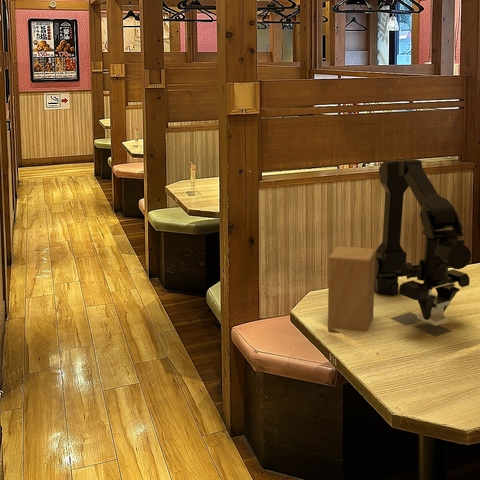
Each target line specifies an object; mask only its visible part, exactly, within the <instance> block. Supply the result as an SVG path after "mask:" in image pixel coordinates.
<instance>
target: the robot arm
mask: <svg viewBox="0 0 480 480" xmlns="http://www.w3.org/2000/svg"><path fill="white" fill-rule="evenodd" d="M378 175H379V182H380V185H381V186H382V188H383V189H384V192H385V195H384V206H383V207H384V209H383V225H382V242H381V243H380V244H379V246H378V247H377V248H376V249H375V279H374V292H375V293H376V294H379V295H382V296H383V295H384V296H390V297H394V296H398V295H400V296H403V297H406V298H409V299H411V300H413V301H417V302H418V305H419V307H420V311H421V313H422V314H423V318H424V319H425V320H428V319H429V316H430V313H431V310H432V307H433V304H434V300H435V296H432V295H431V294H432V291H433V289H435V290H436V293H437V294H436V295H437V296H439V297H442V298H445V299H447V300H450V303H451V302H452V301H453V299H454V298H455V296H456V294H457V293H459V292H460V288H465V287H469V286H470V279H471V278H470V277H469V275H468V273H467V272H462V271H459V270H462V269H464V268H466V267H467V266H468V264H469V263H470V262H471V259H472V253H471V250H470V248H469V247H468V246H467V245H465V240H464V239H463V238H460V237H463V236H464V233H463V229H464V228H463V225H462V223H461V221H460V218H459V216H458V212H457V210H456V208H455V207H454V205H453V204H452V203H451V202H450V201H449V200H448V199H446V198H444V197H443V196H440V194H438V192H437V189H435V186H434V185H433V184H432V182H431V180H430V179H429V177H428V175H427V174H426V171H425V170H424V169H423V163H422V161H421V160H420V159H417V158H416V159H393V160H392V159H391V160H384V161H382V163H381V164H380V166H379V168H378ZM408 188H409V189H410V191H411V192H412V193H413V196H414V198H415V199H416V202H417V203H418V205H419V207H420V211H419V214H418V215H419V218H420V222H421V225H422V227H423V228H424V229H423V230H422V232H421V233H422V234H423V235H424V237H425V238H424V239H425V242H424V243H425V244H424V255H423V257H424V258H422V259H421V258H420V260H419V262H418V263H413V264H412V262H410V261H409V262H407V255H408V254H407V253H406V251H404V248H403V247H402V245H401V239H402V238H401V236H402V224H403V223H402V221H403V212H404V211H403V209H404V207H403V206H404V197H405V196H404V195H405V193H406V192H407V189H408ZM449 267H451V268H452V269H450V270H449ZM403 277H406V280H409V279H412V278H416V280H417V281H415V280H413V279H412V280H409V281H406V282H405V281H404V282H402V283H401V284H399V278H403ZM418 281H420V282H418ZM422 281H423V282H422ZM421 282H422V283H421ZM455 283H458V286H459V287H460V288H458V287H456V284H455ZM448 307H449V305H447V306H444V312H445V311H446V310H447V308H448Z"/></svg>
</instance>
